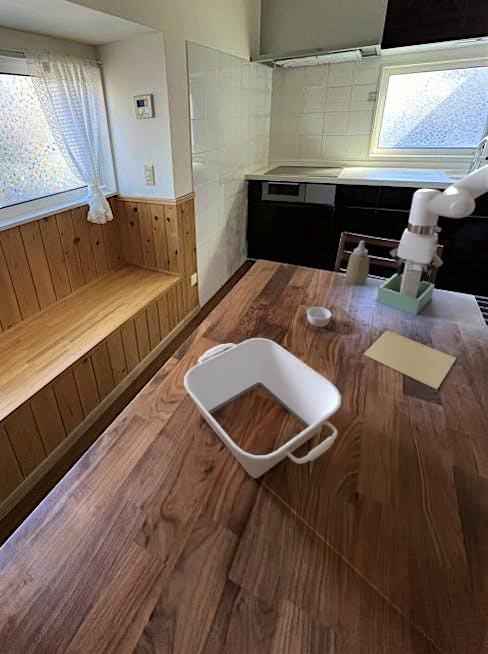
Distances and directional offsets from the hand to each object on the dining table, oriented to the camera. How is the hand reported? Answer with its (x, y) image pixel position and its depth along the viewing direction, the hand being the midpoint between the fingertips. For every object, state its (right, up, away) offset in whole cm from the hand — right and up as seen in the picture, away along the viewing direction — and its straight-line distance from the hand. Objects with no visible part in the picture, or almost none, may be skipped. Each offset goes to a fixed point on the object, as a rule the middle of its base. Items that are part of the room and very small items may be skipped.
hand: (411, 276), depth 116 cm
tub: (-61, -33, -38) cm, 79 cm away
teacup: (-34, -16, -4) cm, 38 cm away
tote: (0, -9, +4) cm, 10 cm away
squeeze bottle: (-10, -4, +18) cm, 21 cm away
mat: (-15, -22, -21) cm, 34 cm away
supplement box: (+1, -7, +3) cm, 8 cm away
